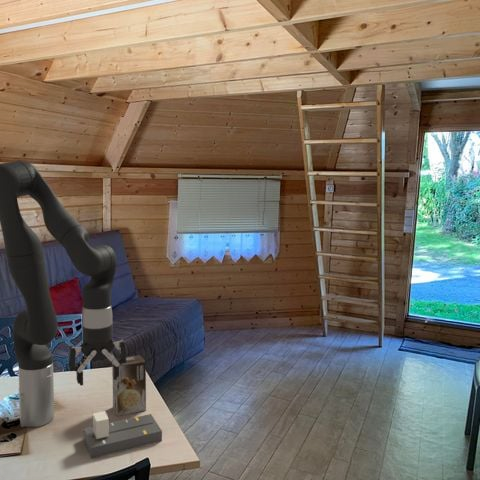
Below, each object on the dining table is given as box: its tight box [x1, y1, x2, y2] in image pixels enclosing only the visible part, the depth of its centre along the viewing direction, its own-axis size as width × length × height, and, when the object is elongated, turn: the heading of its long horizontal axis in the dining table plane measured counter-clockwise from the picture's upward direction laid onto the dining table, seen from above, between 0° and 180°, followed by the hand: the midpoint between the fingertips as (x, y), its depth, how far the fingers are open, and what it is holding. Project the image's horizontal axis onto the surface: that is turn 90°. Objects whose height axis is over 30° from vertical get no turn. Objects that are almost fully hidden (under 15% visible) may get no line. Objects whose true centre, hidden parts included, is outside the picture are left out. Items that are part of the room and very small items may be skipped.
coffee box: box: [111, 354, 147, 417], centre depth 145 cm, size 9×6×16 cm
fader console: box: [83, 413, 163, 460], centre depth 129 cm, size 19×10×3 cm, turn 118°
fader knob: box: [92, 410, 110, 439], centre depth 126 cm, size 3×4×5 cm
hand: (98, 381), depth 123 cm, fingers open, 8 cm apart
